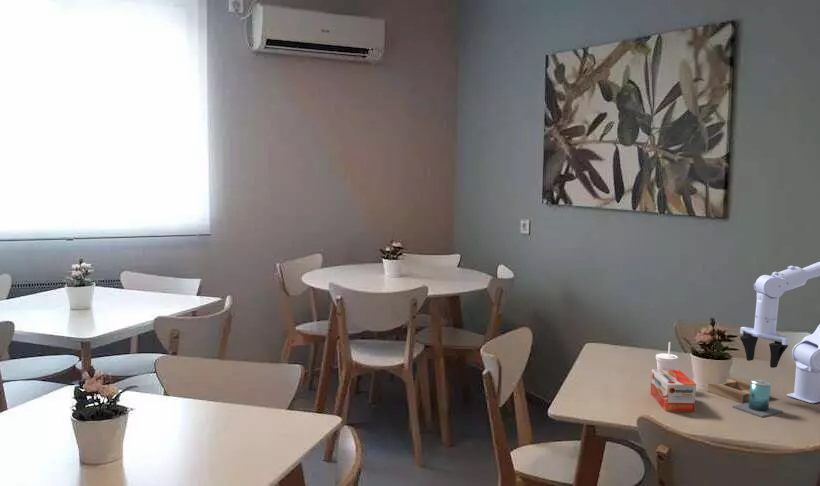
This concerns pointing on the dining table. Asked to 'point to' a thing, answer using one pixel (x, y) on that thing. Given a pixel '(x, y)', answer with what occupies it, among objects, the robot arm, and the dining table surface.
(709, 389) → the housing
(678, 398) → the medicine box
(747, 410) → the mat
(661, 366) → the smoothie
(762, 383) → the teal can
